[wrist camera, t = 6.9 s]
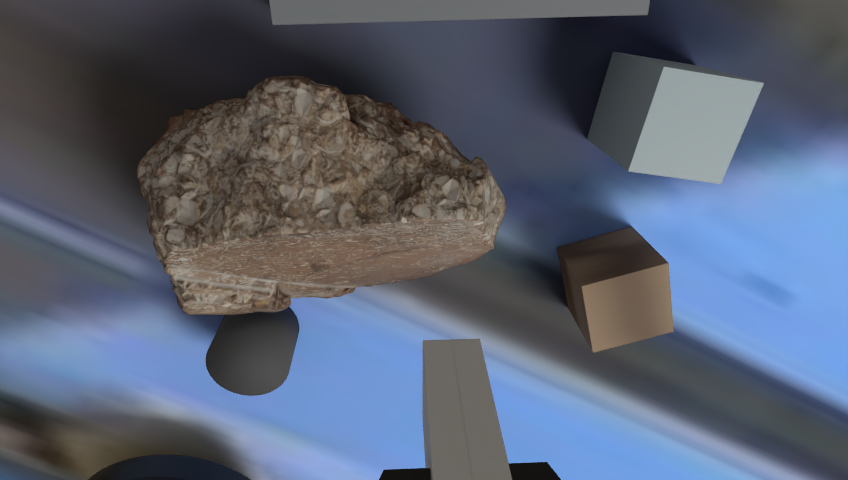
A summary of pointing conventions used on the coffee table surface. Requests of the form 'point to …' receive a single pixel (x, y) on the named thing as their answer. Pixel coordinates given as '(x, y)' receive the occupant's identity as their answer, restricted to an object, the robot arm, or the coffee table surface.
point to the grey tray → (443, 10)
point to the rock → (308, 198)
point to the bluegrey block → (671, 117)
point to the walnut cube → (616, 288)
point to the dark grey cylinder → (253, 351)
